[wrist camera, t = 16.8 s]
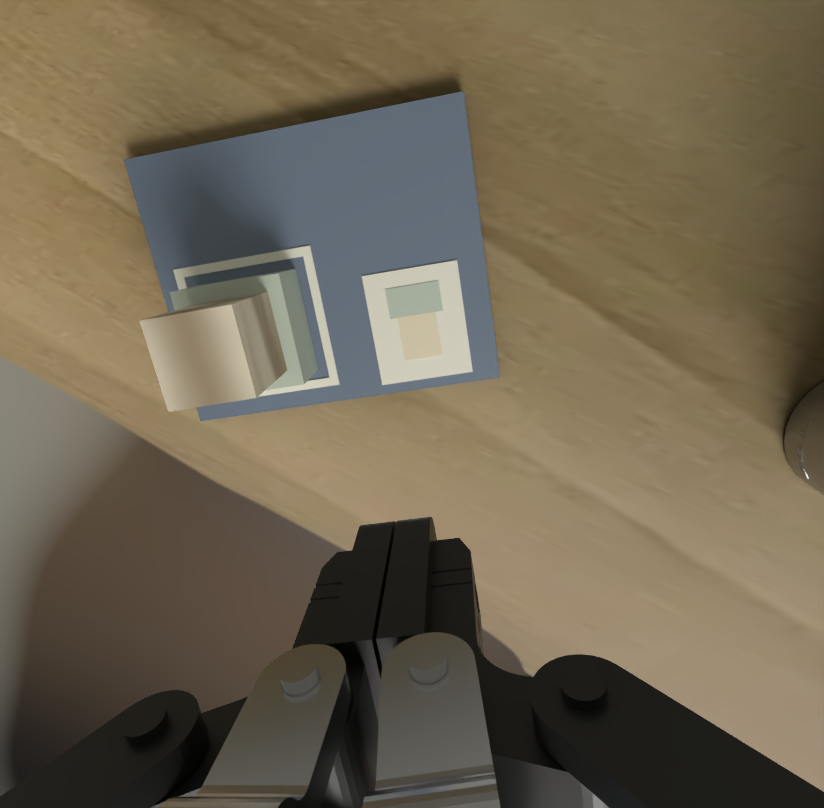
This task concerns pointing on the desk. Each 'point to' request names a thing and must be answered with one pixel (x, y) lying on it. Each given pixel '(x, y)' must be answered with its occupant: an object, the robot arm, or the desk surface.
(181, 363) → the maple block
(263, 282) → the base block
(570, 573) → the desk surface
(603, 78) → the desk surface
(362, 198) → the build board
